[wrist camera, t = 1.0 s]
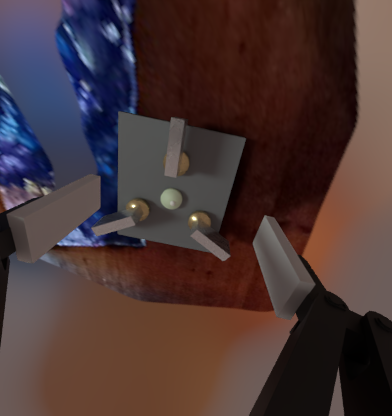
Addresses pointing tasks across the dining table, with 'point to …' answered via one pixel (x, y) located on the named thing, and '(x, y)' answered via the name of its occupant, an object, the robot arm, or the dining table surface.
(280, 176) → the dining table surface
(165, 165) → the knob
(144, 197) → the base plate
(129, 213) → the knob
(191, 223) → the knob
